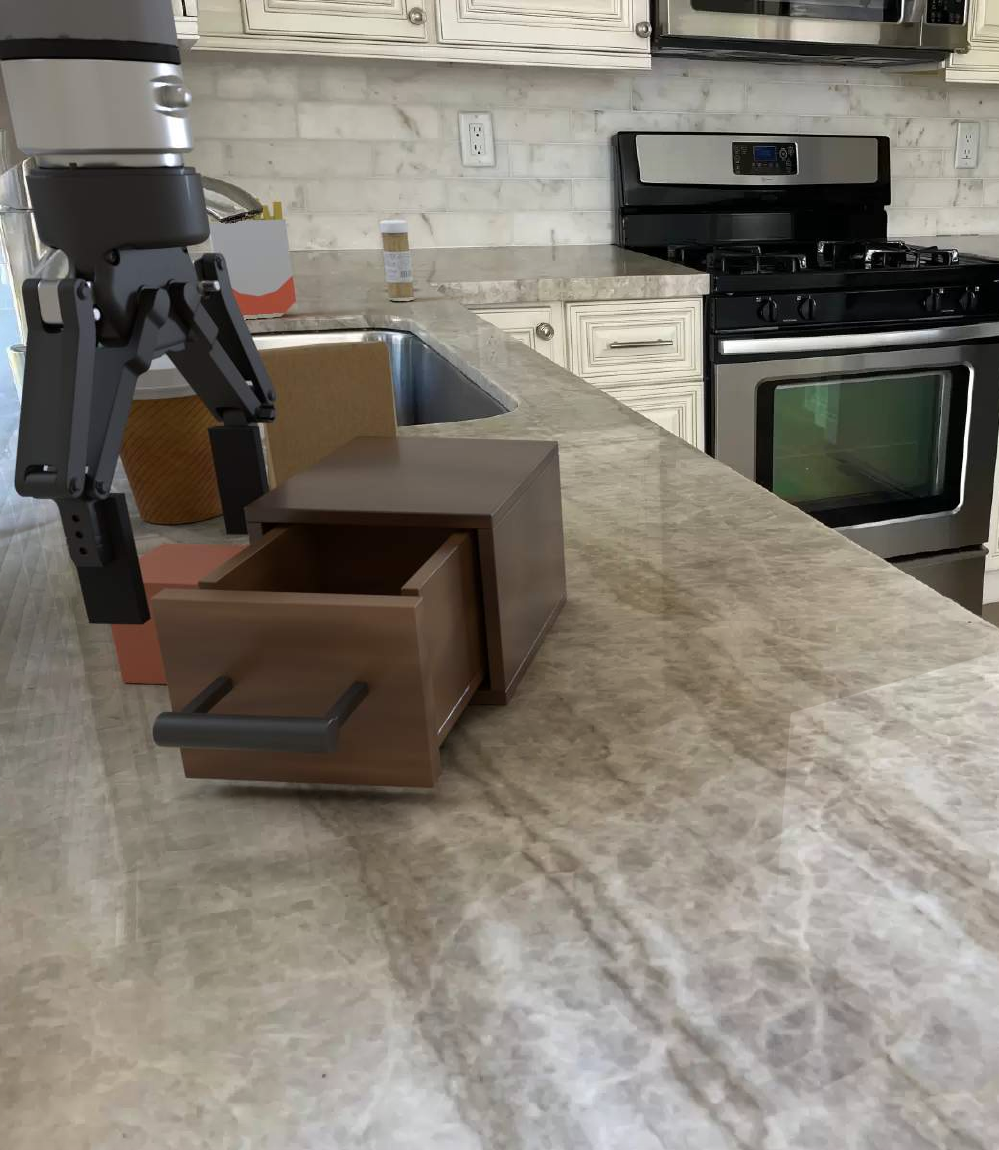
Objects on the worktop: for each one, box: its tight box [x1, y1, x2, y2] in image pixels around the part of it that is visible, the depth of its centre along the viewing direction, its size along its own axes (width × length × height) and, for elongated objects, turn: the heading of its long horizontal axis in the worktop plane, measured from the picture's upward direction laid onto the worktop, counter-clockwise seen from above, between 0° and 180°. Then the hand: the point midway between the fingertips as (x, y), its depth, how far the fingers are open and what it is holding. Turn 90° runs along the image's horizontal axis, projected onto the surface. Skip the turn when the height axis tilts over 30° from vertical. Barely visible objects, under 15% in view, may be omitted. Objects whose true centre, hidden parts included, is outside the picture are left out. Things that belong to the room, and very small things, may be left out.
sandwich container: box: [257, 340, 399, 491], centre depth 85 cm, size 9×15×15 cm, turn 26°
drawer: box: [150, 523, 489, 789], centre depth 54 cm, size 18×11×9 cm, turn 177°
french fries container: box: [208, 197, 297, 316], centre depth 178 cm, size 5×11×18 cm, turn 123°
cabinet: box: [244, 436, 568, 706], centre depth 66 cm, size 15×13×11 cm
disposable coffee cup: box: [119, 354, 224, 525], centre depth 88 cm, size 10×10×12 cm
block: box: [109, 542, 248, 685], centre depth 64 cm, size 6×6×6 cm
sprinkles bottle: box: [379, 219, 415, 298], centre depth 198 cm, size 5×5×14 cm
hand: (192, 573), depth 63 cm, fingers open, 13 cm apart
